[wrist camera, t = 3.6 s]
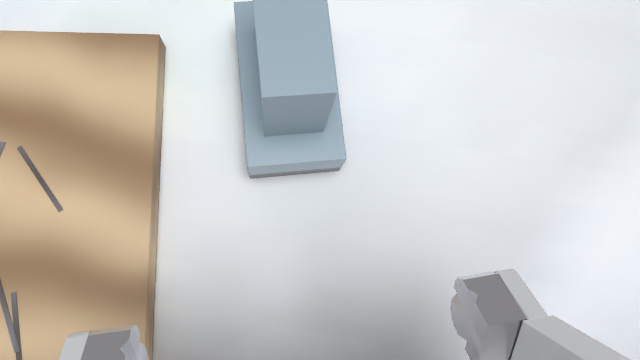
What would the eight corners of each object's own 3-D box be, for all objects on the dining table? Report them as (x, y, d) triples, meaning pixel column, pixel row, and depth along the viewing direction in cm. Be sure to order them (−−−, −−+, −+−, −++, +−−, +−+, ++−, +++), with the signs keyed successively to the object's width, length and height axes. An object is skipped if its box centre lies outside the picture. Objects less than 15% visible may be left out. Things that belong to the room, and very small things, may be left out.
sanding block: (338, 170, 27) (366, 126, 19) (250, 178, 27) (239, 136, 18) (321, 25, 29) (340, -75, 20) (238, 30, 28) (222, -71, 20)
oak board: (143, 557, 23) (133, 577, 21) (-180, 581, 21) (-215, 605, 20) (165, 47, 27) (159, 34, 26) (-97, 41, 26) (-120, 27, 25)
